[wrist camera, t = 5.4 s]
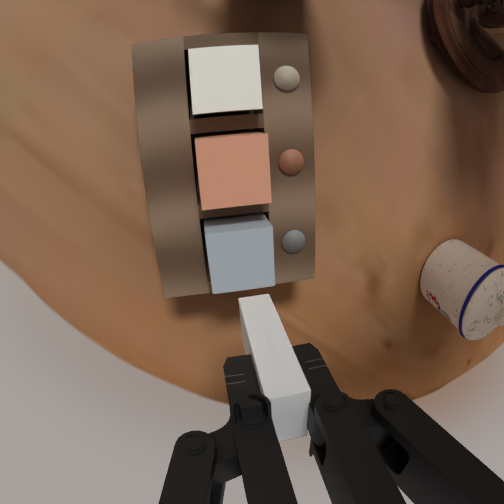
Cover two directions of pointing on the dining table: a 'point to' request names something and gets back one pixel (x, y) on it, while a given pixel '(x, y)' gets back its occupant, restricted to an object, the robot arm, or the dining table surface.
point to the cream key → (225, 79)
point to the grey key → (240, 252)
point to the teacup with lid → (465, 288)
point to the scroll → (471, 40)
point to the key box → (188, 127)
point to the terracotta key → (233, 169)
